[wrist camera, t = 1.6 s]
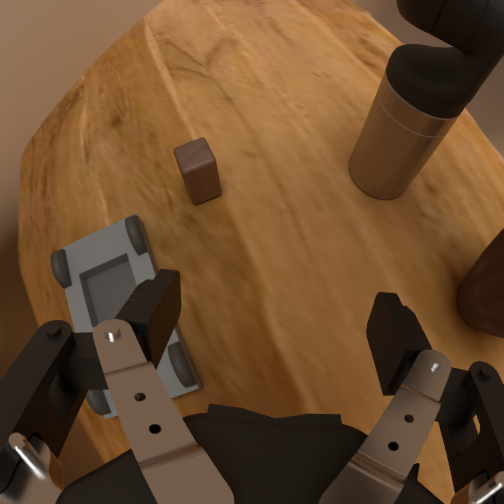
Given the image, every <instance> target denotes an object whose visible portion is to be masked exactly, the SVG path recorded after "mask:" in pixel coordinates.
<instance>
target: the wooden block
mask: <svg viewBox="0 0 504 504" xmlns="http://www.w3.org/2000/svg"><path fill="white" fill-rule="evenodd" d="M174 155H175V158H176V161H177V164H178V166H179V169H180V172H181V175H182V178H183V180H184V183H185V186H186V188H187V191H188V193H189V195H190V198H191V200H192V202H193V204H194V205H197V204H199V203H202V202H204V201H207V200H209V199H212V198H214V197H216V196H219V195H220V194H221V186H220V181H219V175H218V169H217V164H216V159H215V157H214V155H213V153H212V151H211V149H210V147H209V145H208V143H207V141H206V139H205V138H199V139H197V140H194V141H191V142H189V143H186V144H184V145H181V146H179V147H176V148H175V149H174Z"/></svg>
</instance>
